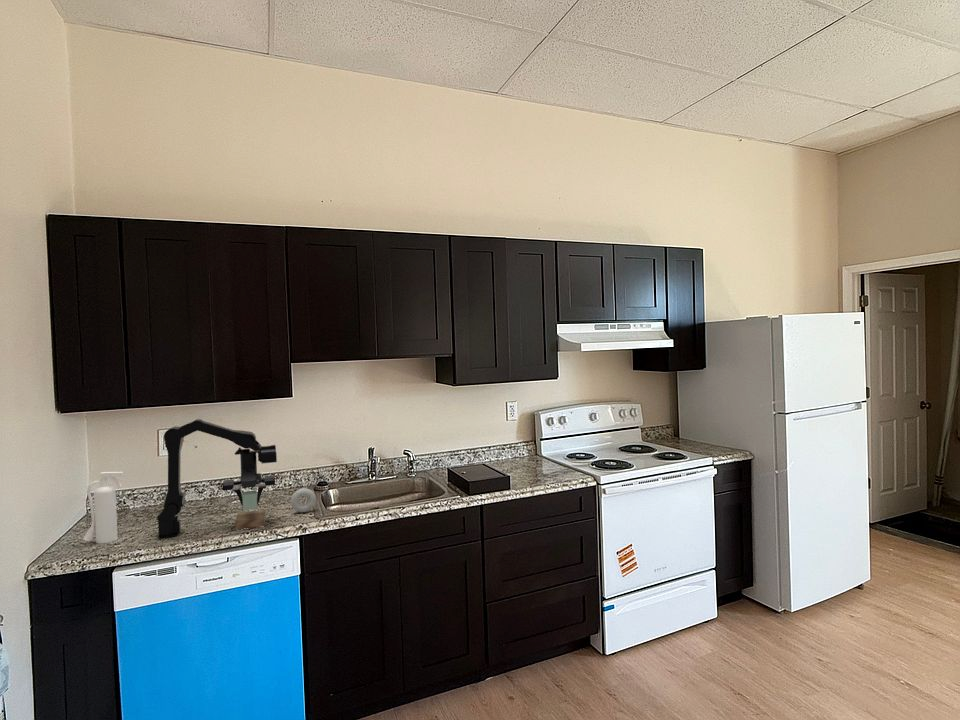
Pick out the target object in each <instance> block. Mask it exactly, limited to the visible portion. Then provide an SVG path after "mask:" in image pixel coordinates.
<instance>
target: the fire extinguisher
mask: <svg viewBox="0 0 960 720" xmlns="http://www.w3.org/2000/svg"><path fill="white" fill-rule="evenodd" d="M121 476H124V471H101V472H100V473H99V477H98V480H94V481H92V482H90V483H88V485H87V490H86V495H87V497H88V501H89V507H90V508H89V509H90V516H91V525H90V527H89V528H88V529H87V530H86V533H85V535H84V536H83V538H82V541H86V542H93V541H94V538H95V543H96V544H108V543H111V542H115V541H116V540H118V538H119V537H118V519H117V517H118V515H117V497H116V496H117V493H116V489H115V487H114V486H113V485H109V481H108V480H110V481H112V482H113V484H115V485H116V487H117V489H118V490H119V489H120V488H122V486H123V485H122V483H121V481H120V480H119V479H118V478H116V477H121ZM99 479H100V480H99ZM96 484H100V486H99V487H97V488H96V489H95V490H94V492H93V496H92V494H91V490H92V486H93V485H96Z"/></svg>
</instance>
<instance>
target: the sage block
mask: <svg viewBox="0 0 960 720" xmlns="http://www.w3.org/2000/svg"><path fill="white" fill-rule="evenodd" d="M257 494H258V489H257V490H256V489H255V490H247V491H242V497H243V506H242V510H243V511H249V510H258V504H257Z"/></svg>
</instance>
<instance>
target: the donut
mask: <svg viewBox="0 0 960 720" xmlns="http://www.w3.org/2000/svg"><path fill="white" fill-rule="evenodd" d="M303 497H304V498H306V499H307V501H306V502H305V503H304V504H303V503H301V502H300V500H301V498H303ZM316 501H317V497H316V494H315V492H314V491H313V490H311V489H309V488H306V487H304V488H303V487H302V488H299V489H297V490H296V491H294V493H293V494H292V495H291V498H290V505H291V507H292V509H293V510H294V511H296V512H298V513H303V512H304V513H308V512H309V511H311V510H312V509H313V508H314V507H315V504H316V503H317V502H316Z"/></svg>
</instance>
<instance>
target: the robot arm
mask: <svg viewBox="0 0 960 720" xmlns="http://www.w3.org/2000/svg"><path fill="white" fill-rule="evenodd" d="M195 432H200V433H204V434H207V435H211V436H214V437H215V436H216V437H217V438H221V439H224V440H227V441H229V442H231V443H233V444H235V445H236V446H239V447H238V449H237V450H236V451H235V452H234V455H236V456H237V455H238V456H239V455H240V456H239V457H240V480H239V481H235V479H225V480H224V481H223V482H222V485H221V488H222V490H221V491H224V492H225V491H231V492H234V493H235V494H236V495H237V498H238V500H239V502H240V504H241V506H242V507H243V497H242V494H243V491H242V489H248V488H255V487H257V485H258V488H257V505H259V502H260V499H261V495H262V492H263V491H264V489H266V488H267V487H268V486H275V485H276V476H275V475H272V474H271V475H264V478H262V473H261V472H260V473H258V470H257V469H258V466H257V465H258V463H257V462H259V463H261V464H262V465H263V464H272V463H277V461H278V458H277V457H278V456H277V455H278V454H277V449H276V448H277V445H276V444H271V445H263V446H262V445H261V444H260V442H259V441H258V440H257V435H256V434H255V433H254V432H253V431H246V430H235V429H232V428H229V427H225V426H222V425H218V424H215V423H211V422H208V421H205V420H203V419H202V418H201V419H200V418H197V419H194V420H193V421H191V422H188V423H186V424H183V425H181V426H177V425H176V426H172V427H170V428H169V429H167V430H166V431H165V432H164V434H163V440H164V441H163V442H164V446H165V448H166V451H167V493H166V496H165V501H164V504H163V509H162V510H161V512H160V513H159V514H158V515H157V516H156V519H157V529H158V536H157V539H165V538H171V537H177V536H178V537H179V535H180V533H181V531H182V529H181V528H182V525H181V519H179V518H180V517H179V513H181V511H182V510H183V508H184V507H185V504H186V503H187V500H186V495H187V492H186V491H184V492H182V488H181V456H182V455H181V454H182V453H181V452H182V447H183V444H184V439H185V437H186V436H188V435H191V434H192V433H193V434H194V433H195ZM241 447H242V448H241Z"/></svg>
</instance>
